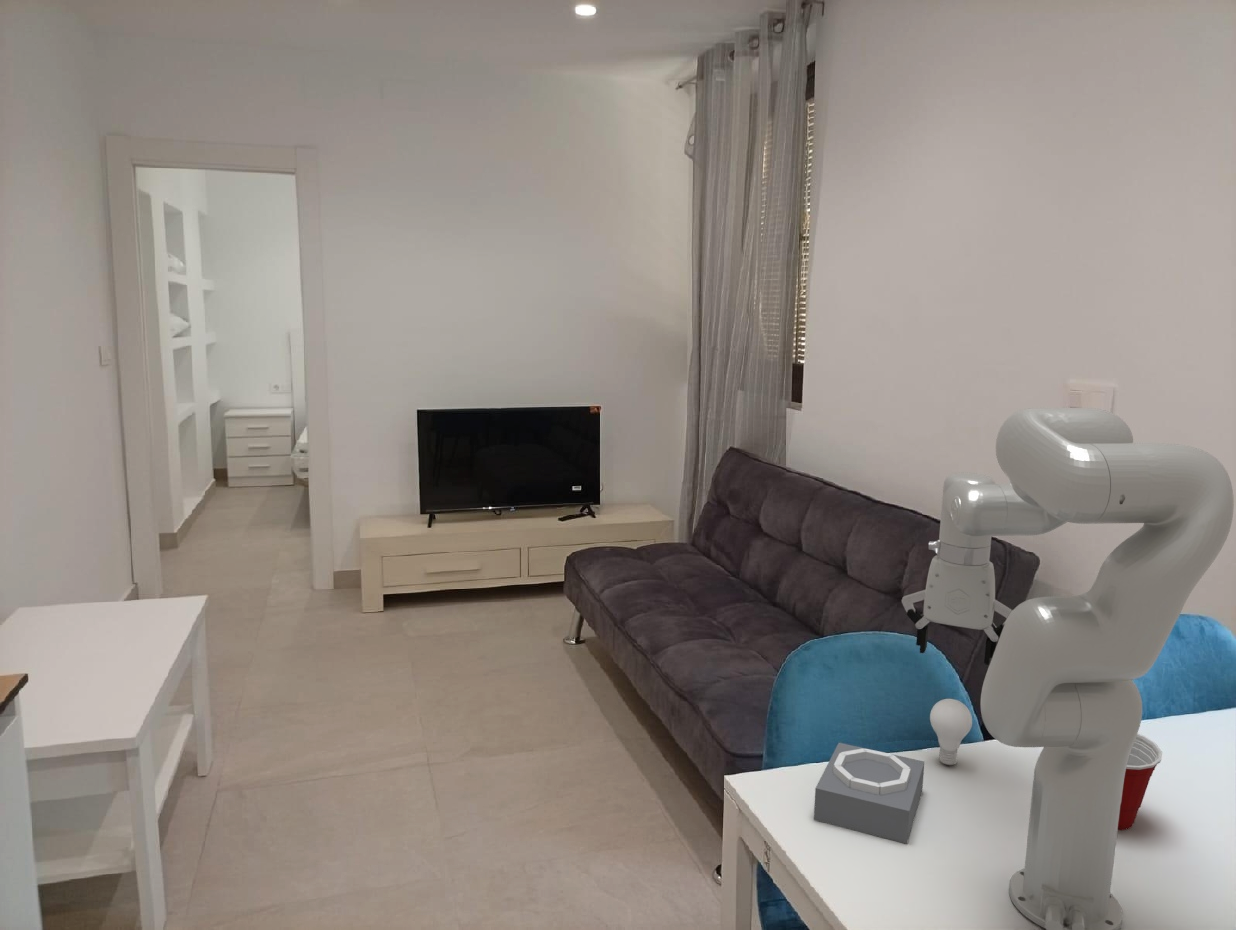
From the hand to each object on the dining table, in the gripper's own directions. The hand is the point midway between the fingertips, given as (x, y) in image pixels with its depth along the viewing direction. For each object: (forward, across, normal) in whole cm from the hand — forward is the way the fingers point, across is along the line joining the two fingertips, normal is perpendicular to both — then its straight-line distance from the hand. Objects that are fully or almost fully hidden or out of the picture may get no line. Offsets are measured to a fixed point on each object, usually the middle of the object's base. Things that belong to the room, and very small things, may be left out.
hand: (954, 655), depth 142 cm
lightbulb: (+19, 0, -1) cm, 19 cm away
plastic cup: (+18, +23, -7) cm, 30 cm away
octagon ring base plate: (+18, -9, -17) cm, 26 cm away
